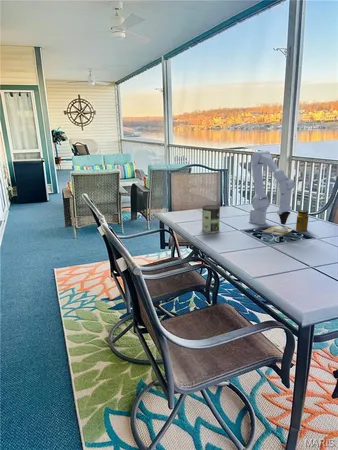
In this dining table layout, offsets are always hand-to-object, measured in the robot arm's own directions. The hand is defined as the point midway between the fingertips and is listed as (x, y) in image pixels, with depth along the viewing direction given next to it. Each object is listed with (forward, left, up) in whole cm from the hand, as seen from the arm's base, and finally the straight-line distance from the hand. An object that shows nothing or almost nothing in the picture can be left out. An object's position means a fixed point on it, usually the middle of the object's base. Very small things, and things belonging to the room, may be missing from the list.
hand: (283, 224), depth 185 cm
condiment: (+9, +6, -4) cm, 12 cm away
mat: (-1, -3, -4) cm, 5 cm away
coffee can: (-32, -26, -4) cm, 42 cm away
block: (0, 0, -2) cm, 2 cm away
